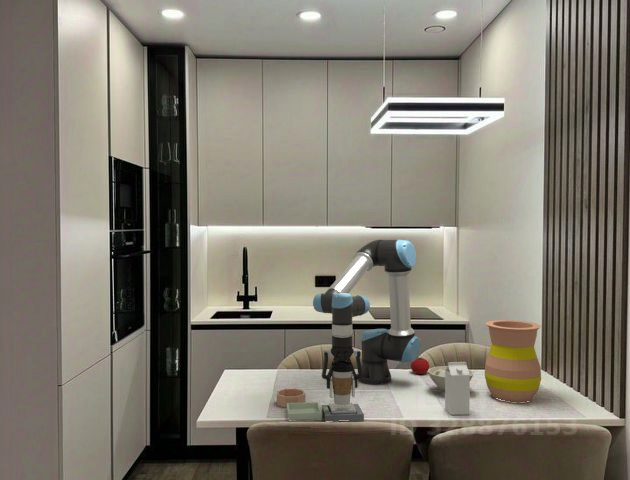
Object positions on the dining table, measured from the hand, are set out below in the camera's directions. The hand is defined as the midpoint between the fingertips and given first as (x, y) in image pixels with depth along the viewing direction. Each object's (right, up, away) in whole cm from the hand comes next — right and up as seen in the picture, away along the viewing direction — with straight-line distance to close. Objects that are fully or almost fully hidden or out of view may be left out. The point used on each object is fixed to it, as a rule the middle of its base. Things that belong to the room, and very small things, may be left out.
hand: (342, 396), depth 206 cm
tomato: (+40, -6, +60) cm, 72 cm away
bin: (-20, -7, +15) cm, 26 cm away
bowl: (+47, -7, +29) cm, 56 cm away
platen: (0, -5, 0) cm, 5 cm away
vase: (+71, -7, +23) cm, 75 cm away
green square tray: (-14, -7, +2) cm, 16 cm away
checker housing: (0, -7, 0) cm, 7 cm away
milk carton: (+44, -7, +5) cm, 45 cm away
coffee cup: (0, -2, 0) cm, 2 cm away
